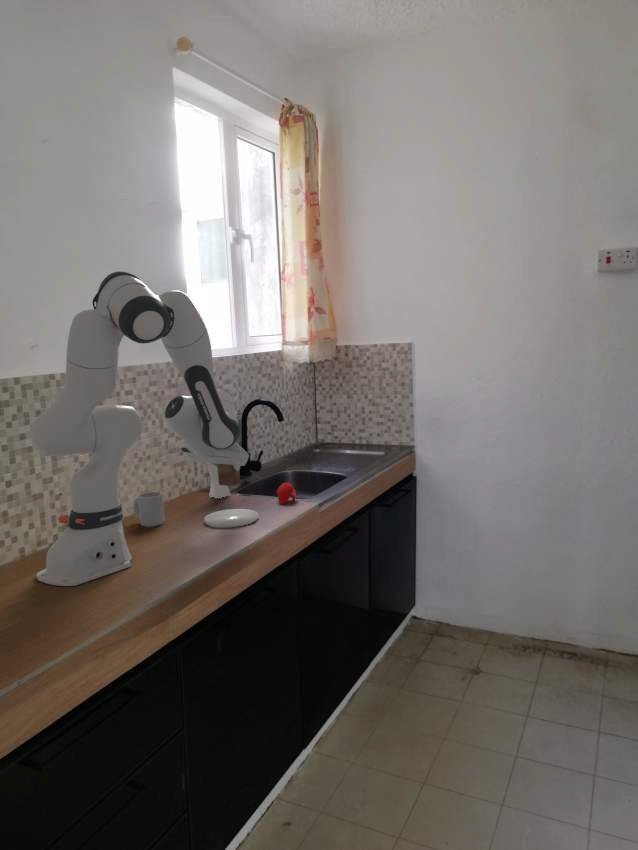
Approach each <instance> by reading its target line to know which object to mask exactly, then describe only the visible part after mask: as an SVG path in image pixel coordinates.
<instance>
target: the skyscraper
mask: <svg viewBox="0 0 638 850" xmlns="http://www.w3.org/2000/svg"><path fill="white" fill-rule="evenodd" d="M206 464H207V469H208V474H209V477H210V480H211V481H210V485H209V486H210V487H209V488H210V489H209V494H208V498H212V497H214V498H213V499H217V498H218V499H217V500H220V499H223V498H222V497H224V498H227V497H231V496H232V495H231V492H230V489H229V486H225V485H219V479H218V468H217V467H216V466H214V465H212V464H210V463H206ZM226 496H227V497H226ZM219 498H220V499H219Z"/></svg>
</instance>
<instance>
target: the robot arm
mask: <svg viewBox="0 0 638 850" xmlns="http://www.w3.org/2000/svg"><path fill="white" fill-rule="evenodd" d="M92 306H93V309H85V310H82V311H80V312H78V313H77V314H76V315H75V316H74V317H73V319H72V321H71V325H70V328H69V333H68V338H67V346H66V360H65V362H66V364H65V365H66V366H65V375H64V382H63V387H62V389H61V391H60V393H59V395H58V397H56V400H55V401H54V402H53V403H52V404H51V405H50V406H49V407H48V408H47V409H46V410H44V411H43V412H42V413H40V414H39V415H37V416H36V417H35V419H34V420H33V422H32V424H31V429H30V437H31V438H30V439H31V442H32V443H33V446H34V447H35V449H37V451H39V452H40V453H41V454H42V455H44V456H56V457H57V456H62V457H65V456H72V455H79V454H80V455H81V454H87V453H91V457H90V459H89V461H88V462H87V463H86V464H85V465H84V466H82V467H81V468H79V469H78V470H76V471H75V472H74V473H73V474H72V477H71V479H70V481H69V489H70V499H71V507H72V508H71V510H70V514H69V515H65V514H59V515H58V517H57V521H58V523H60V524H67V528H65V530H64V531H63V533H62V534H61V535H59V537H58V538H57V540H56V541H55V542H54V543H53V544H52V546H50V548H49V549H48V550H47V553H46V557H45V558H46V560H45V568H44V569H41V570H39V571H38V572H37V573H36V579H37V580H38V581H39V582H41V583H43V582H44V584H48V585H52V586H60V587H72V586H75V587H76V586H79V585H81V584H84V583H87V582H89V581H93V580H95V579H98V578H102V577H104V576H107V575H111V574H112V573H116V572H119V571H123V570H125V569H127V568H129V567H132V564H131V560H132V558H133V557H132V554H131V552H130V549H129V546H128V544H127V540H126V536H125V535H126V534H125V532H124V531H125V530H124V526H123V521H122V520H123V519H124V516H123V506H122V503H120V491H119V490H120V487H119V486H120V485H119V482H120V481H119V476H120V470H121V466H122V463H123V460H124V459H125V456H126V455H127V452H129V450H130V449H131V447H132V446H134V444H136V443H137V442H138V441H139V439H140V437H141V435H142V433H143V420H142V418H141V415H140V413H139V412H138V411H137V410H136V409H135V407H134V406H131V405H126V404H125V405H124V404H114V403H113V404H104V405H99V404H102V403H103V402H105V401H106V400H108V399H109V398H111V396H113V394H114V392H115V390H116V388H117V378H118V367H119V366H118V365H119V364H118V363H119V347H120V344H121V342H122V339H123V338H124V337H126V338H127V339H129V340H131V341H133V342H135V343H137V344H150V343H153V342H156V341H158V340H160V339H161V342H162V344H163V346H164V348H165V350H166V352H167V354H168V356H169V357H170V359H171V361H172V363H173V364H174V365H175V367H176V369H177V371H178V373H179V375H180V376H181V379H182V380H183V382H184V383H185V385H186V386H187V387H186V388H188V391H189V393H190V395H189V396H187V395H178V396H175V397H174V398H173V399H171V400H170V401H169V402H168V404H167V405H166V406H165V407H166V408H165V409H164V410H165V411H164V419H165V422H167V424H168V426H169V428H170V429H171V430H172V431H173V432H174V433H175V434H176V435H177V436H178V438H180V439H182V440H181V441H180V444H179V445H178V450H180V451H181V452H182V453H183V454H185V455H186V457H188V459H190V460H191V461H193V462H195V463H205V464H207V463H210V464H212V465H214V466H216V467H217V468H218V466H217V464H227V465H233V466H232V469H233V470H234V471H239V470H240V469H241V467H244V466H246V464H247V462H248V460H249V457H250V454H249V453H248V452H247V451H246V450H245V449H244V447H242V445H240V444H239V443H238V441H239V439H240V438H241V434H242V430H241V428H240V425H239V422H238V417H237V413H236V412H237V410H236V407H235V403H234V402H235V401H234V399H233V395H232V394H231V393H230V392H229V391H227V390H225V389H223V388H218V387H217V386H216V381H215V375H214V363H213V351H212V344H211V339H210V335H209V333H208V329H207V327H206V324H205V321H204V320H203V318H202V316H201V313H200V312H199V310H198V308H197V306H196V304H195V303H194V301H193V300H192V299H191V298H190V296H189V295H188V294H187V293H185V292H183V291H181V290H168V291H165V292H163V293H161V294H159V295H158V294H156V293H154V292H153V291H152V290H151V288H150V287H148V285H146V284H145V283H144V282H143V281H142V280H141V279H140V278H139V277H138V276H136V275H134V274H133V273H130V272H127V271H122V270H121V271H115V272H111V273H109V274H108V275H107V276H105V277H104V279H103V280H102V281H101V282H100V284H99V288H98V290H97V292H96V294H95V296H94V297H93V299H92Z"/></svg>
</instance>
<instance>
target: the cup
mask: <svg viewBox="0 0 638 850" xmlns="http://www.w3.org/2000/svg"><path fill="white" fill-rule="evenodd" d="M133 513H134V515H135V517H136V518H138V519H139V522H140V526H141V527H143V526H145V527H144V528H152V527H153V526H154V527H158V525H159V526H161V524H162V525H163V524H165V521H166V520H165V519H166V518H165V517H166V516H165V506H164V494H163V492H161V491H149V492H143V493H140V494H138V495H137V497H136V498H135V499H134V501H133Z"/></svg>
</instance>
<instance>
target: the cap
mask: <svg viewBox="0 0 638 850" xmlns="http://www.w3.org/2000/svg"><path fill="white" fill-rule="evenodd" d="M276 493H277V497H278V498H277V499H278V504H279V505H281V504H283V505H285V504H286V503H287V502H288V501H289V499H290V498H291V501H292V502H295V501H296V499H297V498H296V497H297V492H296V489H295V487H294V486H293V485H292V484H291V483H289V482H283V483H282V484H281V485H280V486H278V488H277V489H276Z"/></svg>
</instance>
